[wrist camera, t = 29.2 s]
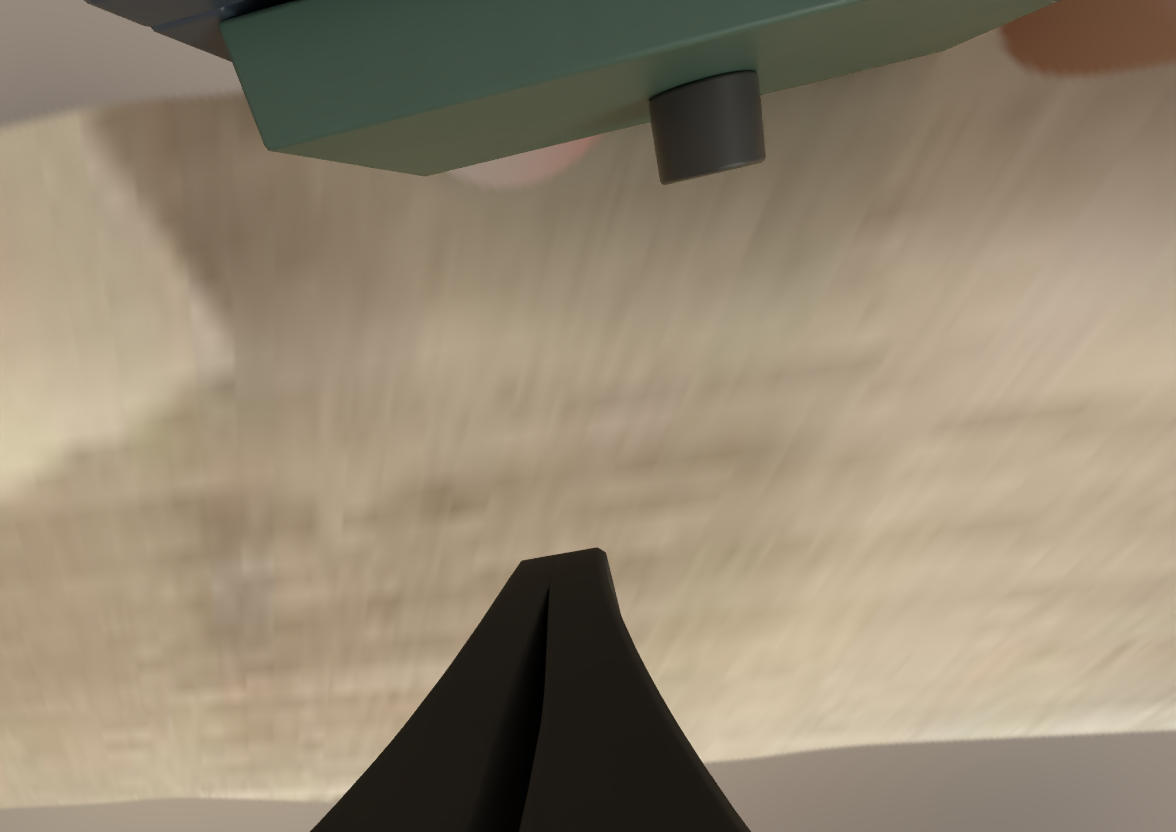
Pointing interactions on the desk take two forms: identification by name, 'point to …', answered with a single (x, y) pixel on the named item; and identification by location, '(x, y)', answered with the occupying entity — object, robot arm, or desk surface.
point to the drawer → (562, 71)
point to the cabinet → (186, 18)
